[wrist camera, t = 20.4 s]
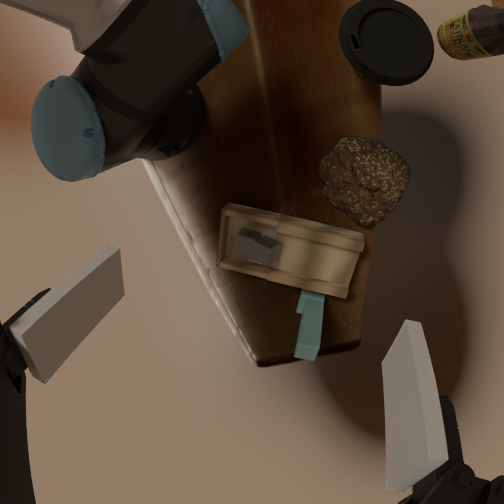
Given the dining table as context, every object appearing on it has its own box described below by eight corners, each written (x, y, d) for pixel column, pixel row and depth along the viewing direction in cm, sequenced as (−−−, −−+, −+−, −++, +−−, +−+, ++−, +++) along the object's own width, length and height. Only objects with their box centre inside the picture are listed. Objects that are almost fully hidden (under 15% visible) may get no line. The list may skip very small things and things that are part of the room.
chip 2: (262, 252, 50) (251, 258, 48) (265, 235, 49) (254, 241, 47) (278, 259, 49) (267, 266, 47) (281, 242, 47) (270, 248, 45)
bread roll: (419, 169, 40) (428, 177, 36) (371, 232, 46) (375, 246, 42) (348, 117, 39) (350, 119, 35) (303, 186, 46) (300, 196, 41)
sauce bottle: (427, 29, 30) (485, -10, 12) (457, 18, 27) (523, -19, 10) (450, 68, 31) (523, 55, 14) (480, 56, 29) (557, 42, 11)
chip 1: (258, 248, 51) (240, 244, 51) (260, 231, 50) (242, 227, 50) (253, 257, 48) (235, 252, 49) (256, 239, 47) (237, 235, 47)
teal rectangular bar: (325, 292, 52) (320, 344, 41) (319, 310, 54) (313, 363, 43) (302, 287, 53) (292, 338, 42) (297, 305, 55) (286, 357, 44)
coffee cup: (413, 86, 34) (451, 79, 21) (347, 96, 38) (357, 92, 25) (392, 22, 31) (419, -11, 18) (326, 33, 34) (324, 0, 21)
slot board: (363, 233, 46) (365, 243, 43) (345, 286, 51) (345, 298, 48) (228, 202, 49) (221, 209, 46) (222, 257, 54) (215, 267, 51)
